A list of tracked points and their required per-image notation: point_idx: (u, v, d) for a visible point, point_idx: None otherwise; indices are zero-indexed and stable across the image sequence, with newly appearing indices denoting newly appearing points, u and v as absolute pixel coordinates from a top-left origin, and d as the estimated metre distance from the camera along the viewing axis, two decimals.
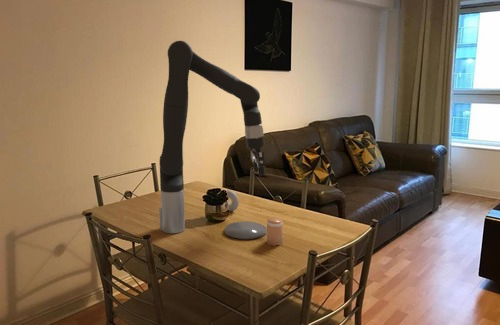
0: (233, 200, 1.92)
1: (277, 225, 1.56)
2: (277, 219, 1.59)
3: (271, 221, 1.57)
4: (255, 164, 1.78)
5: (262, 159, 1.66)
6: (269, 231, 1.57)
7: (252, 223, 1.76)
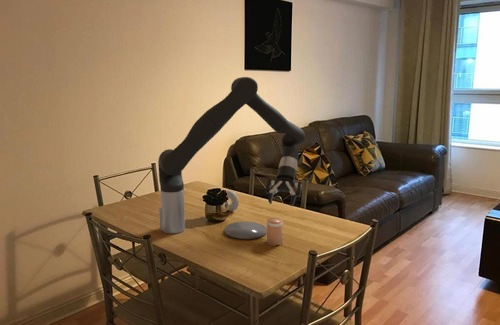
0: (233, 200, 1.92)
1: (277, 225, 1.56)
2: (277, 219, 1.59)
3: (271, 221, 1.57)
4: (272, 195, 1.69)
5: (300, 190, 1.68)
6: (269, 231, 1.57)
7: (252, 223, 1.76)
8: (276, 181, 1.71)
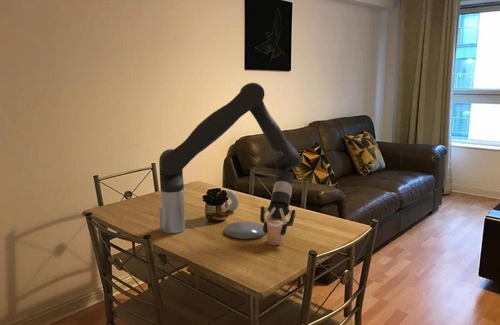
0: (233, 200, 1.92)
1: (277, 225, 1.56)
2: (277, 219, 1.60)
3: (271, 221, 1.57)
4: None
5: (293, 218, 1.60)
6: (269, 231, 1.57)
7: (252, 223, 1.76)
8: (269, 208, 1.63)
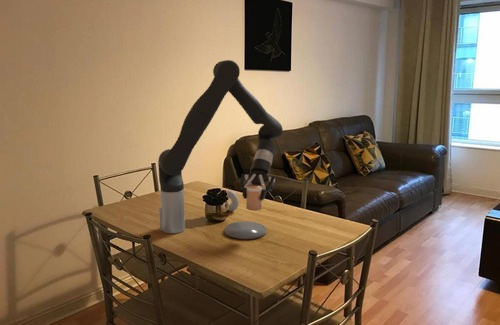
0: (233, 200, 1.92)
1: (256, 190, 1.60)
2: (257, 185, 1.64)
3: (250, 186, 1.61)
4: None
5: (273, 185, 1.64)
6: (248, 196, 1.61)
7: (252, 223, 1.76)
8: (250, 174, 1.67)
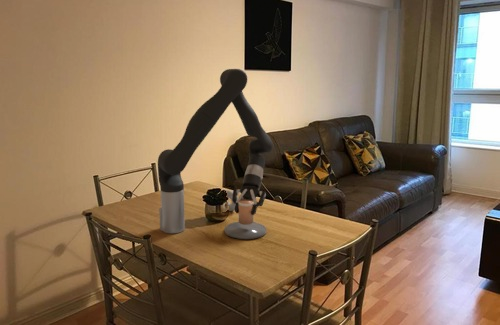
0: None
1: (247, 205, 1.65)
2: (248, 200, 1.69)
3: (241, 201, 1.67)
4: None
5: (263, 199, 1.70)
6: (240, 211, 1.67)
7: (252, 223, 1.76)
8: (241, 189, 1.73)
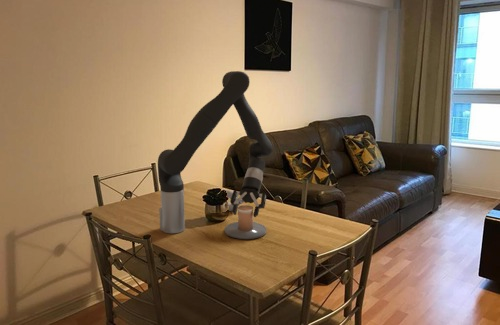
0: None
1: (247, 211, 1.66)
2: (248, 206, 1.70)
3: (241, 208, 1.67)
4: (236, 206, 1.70)
5: None
6: (240, 217, 1.67)
7: None
8: (241, 192, 1.73)
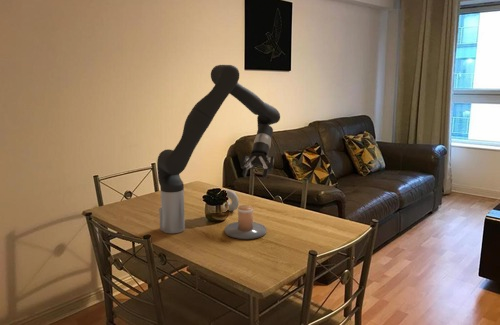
0: (233, 200, 1.92)
1: (247, 211, 1.66)
2: (248, 206, 1.70)
3: (241, 208, 1.67)
4: (246, 169, 1.79)
5: (273, 164, 1.79)
6: (240, 217, 1.67)
7: None
8: (250, 156, 1.82)
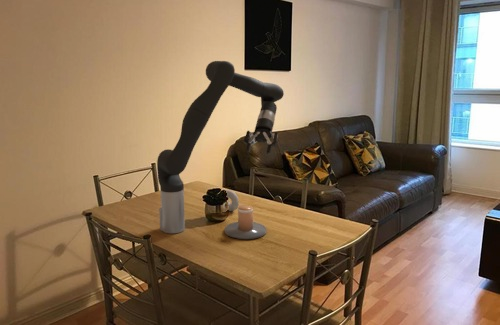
0: (233, 200, 1.92)
1: (247, 211, 1.66)
2: (248, 206, 1.70)
3: (241, 208, 1.67)
4: (250, 145, 1.79)
5: (277, 140, 1.79)
6: (240, 217, 1.67)
7: None
8: (254, 132, 1.82)
